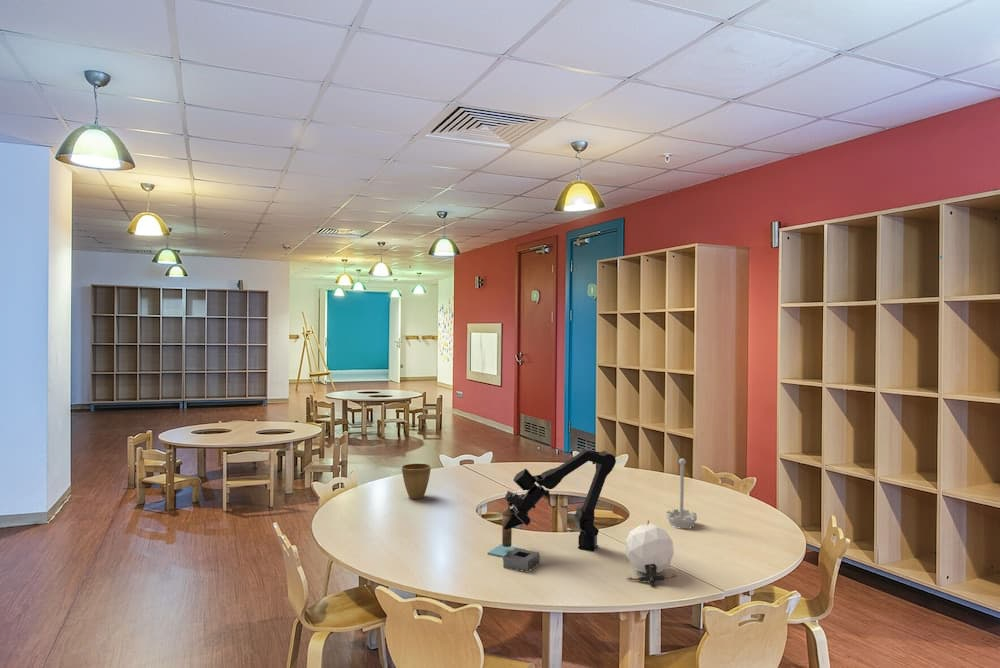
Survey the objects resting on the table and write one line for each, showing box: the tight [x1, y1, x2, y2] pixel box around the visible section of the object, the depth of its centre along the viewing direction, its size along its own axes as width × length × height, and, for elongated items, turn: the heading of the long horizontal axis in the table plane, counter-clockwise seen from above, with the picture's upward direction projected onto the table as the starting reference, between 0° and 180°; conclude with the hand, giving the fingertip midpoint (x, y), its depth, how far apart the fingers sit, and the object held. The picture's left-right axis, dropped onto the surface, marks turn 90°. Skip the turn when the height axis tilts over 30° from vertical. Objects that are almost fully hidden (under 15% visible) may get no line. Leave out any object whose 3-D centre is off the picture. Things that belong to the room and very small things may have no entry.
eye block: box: [502, 547, 541, 572], centre depth 239 cm, size 10×10×4 cm
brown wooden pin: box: [501, 507, 513, 547], centre depth 252 cm, size 4×4×14 cm
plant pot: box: [401, 463, 432, 500], centre depth 330 cm, size 15×15×16 cm
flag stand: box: [666, 458, 698, 529], centre depth 289 cm, size 13×13×30 cm
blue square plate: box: [486, 543, 526, 558], centre depth 252 cm, size 11×11×1 cm
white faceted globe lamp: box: [625, 520, 678, 586], centre depth 230 cm, size 17×25×24 cm
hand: (503, 527), depth 252 cm, fingers closed on brown wooden pin, 4 cm apart
